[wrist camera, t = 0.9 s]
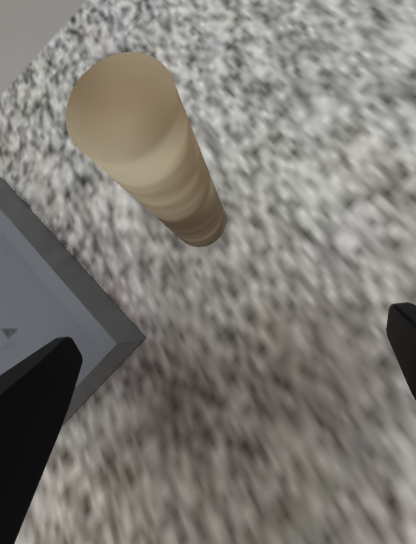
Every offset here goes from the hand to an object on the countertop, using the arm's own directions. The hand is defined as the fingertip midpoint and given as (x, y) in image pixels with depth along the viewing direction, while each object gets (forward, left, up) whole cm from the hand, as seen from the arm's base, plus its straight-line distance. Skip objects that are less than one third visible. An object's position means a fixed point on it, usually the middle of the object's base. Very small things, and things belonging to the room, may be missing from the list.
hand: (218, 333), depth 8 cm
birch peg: (+6, +6, -13) cm, 15 cm away
